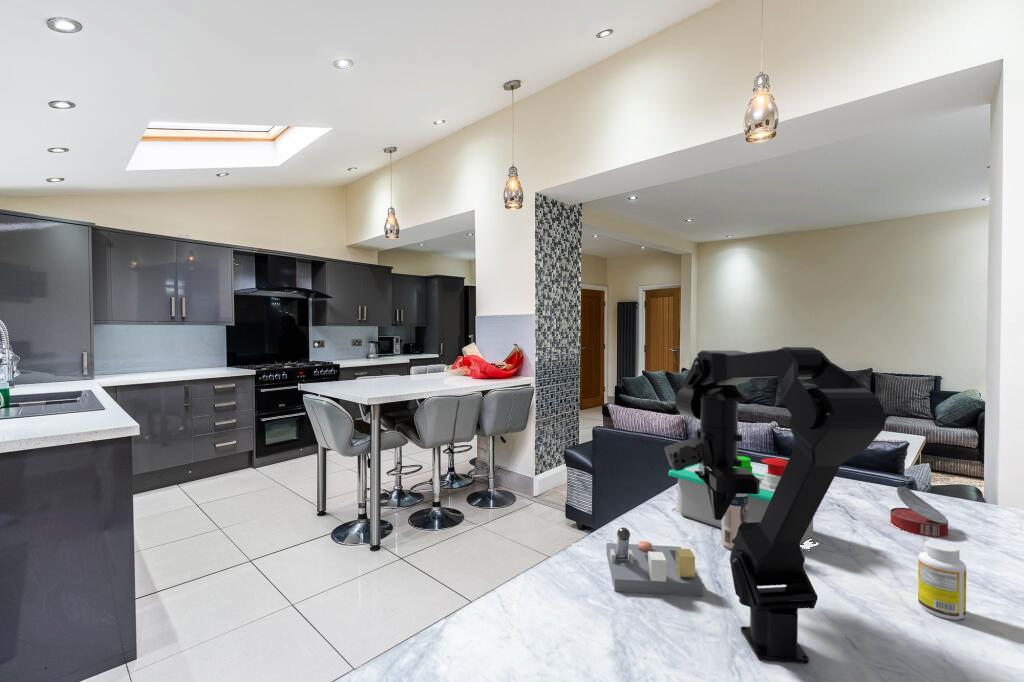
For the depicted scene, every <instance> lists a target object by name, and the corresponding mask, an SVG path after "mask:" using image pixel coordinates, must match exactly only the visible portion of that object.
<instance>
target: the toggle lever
mask: <svg viewBox="0 0 1024 682" xmlns="http://www.w3.org/2000/svg"><path fill="white" fill-rule="evenodd" d="M616 535H617V538H616V539H617V540H616V543H617V552H616V559H624V560H628V546H629V544H630V538H631V532H630V531H629V529H628V528H627V527H620V528H619V529H618V530H617V532H616Z"/></svg>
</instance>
